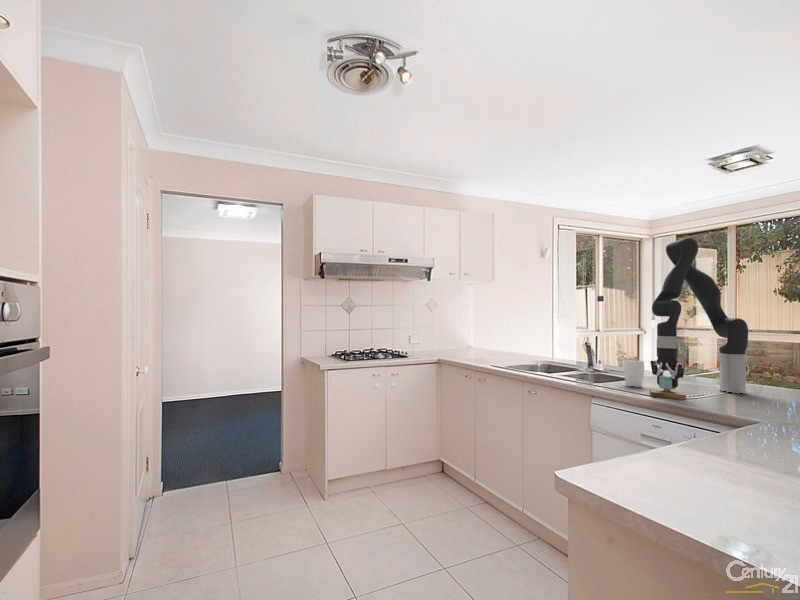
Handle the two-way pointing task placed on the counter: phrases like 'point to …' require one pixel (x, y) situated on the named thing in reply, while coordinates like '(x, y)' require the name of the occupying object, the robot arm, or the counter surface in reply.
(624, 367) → the cup
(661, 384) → the cap
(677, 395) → the stud block
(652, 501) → the counter surface
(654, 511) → the counter surface
